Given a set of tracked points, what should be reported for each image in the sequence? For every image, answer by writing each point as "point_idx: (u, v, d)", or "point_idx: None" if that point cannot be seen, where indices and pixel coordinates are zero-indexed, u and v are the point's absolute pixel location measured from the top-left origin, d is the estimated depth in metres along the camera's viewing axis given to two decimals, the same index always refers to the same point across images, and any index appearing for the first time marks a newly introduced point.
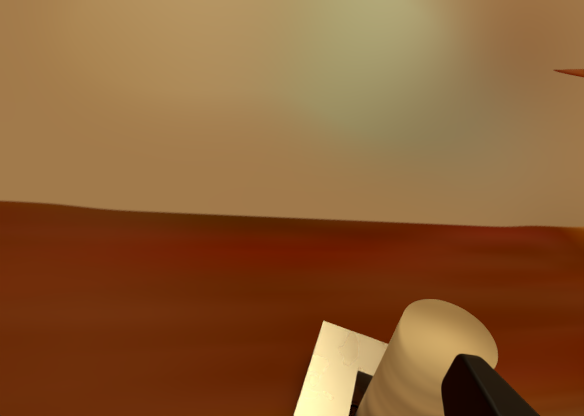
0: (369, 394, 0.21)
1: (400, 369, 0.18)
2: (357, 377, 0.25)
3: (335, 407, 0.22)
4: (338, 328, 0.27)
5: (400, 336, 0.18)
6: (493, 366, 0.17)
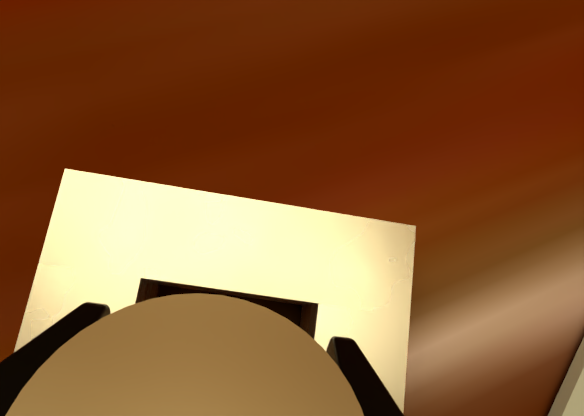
0: None
1: None
2: (150, 280, 0.12)
3: None
4: (100, 180, 0.12)
5: None
6: None
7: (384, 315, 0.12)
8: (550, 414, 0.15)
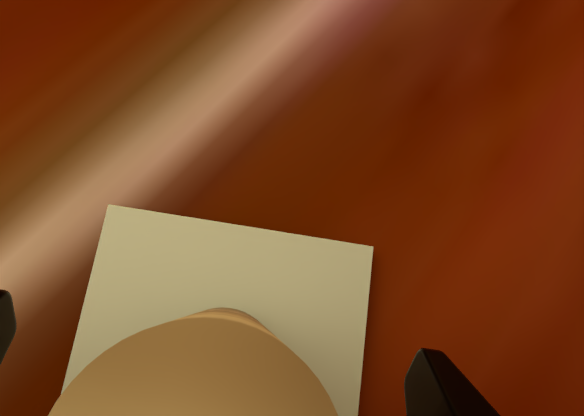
0: None
1: None
2: None
3: None
4: None
5: None
6: None
7: None
8: None
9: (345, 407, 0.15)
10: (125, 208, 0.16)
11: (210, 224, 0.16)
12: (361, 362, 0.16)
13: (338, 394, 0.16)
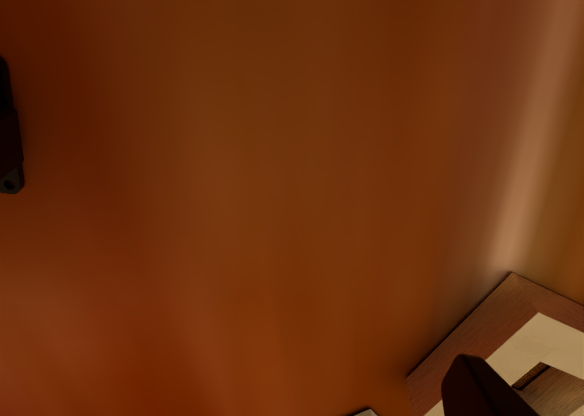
0: None
1: None
2: None
3: (580, 366, 0.23)
4: None
5: None
6: None
7: None
8: None
9: None
10: None
11: None
12: None
13: None
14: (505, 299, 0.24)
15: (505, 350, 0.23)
